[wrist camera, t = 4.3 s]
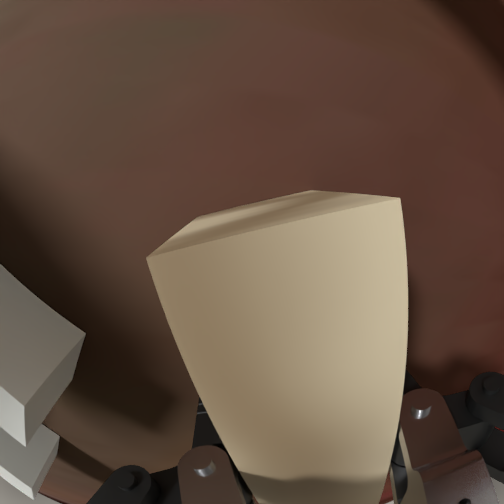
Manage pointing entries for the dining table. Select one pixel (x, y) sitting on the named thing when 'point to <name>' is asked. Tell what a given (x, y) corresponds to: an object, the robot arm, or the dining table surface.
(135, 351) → the dining table surface
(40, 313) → the end cap
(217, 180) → the dining table surface
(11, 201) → the dining table surface
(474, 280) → the dining table surface
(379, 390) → the beige wooden block
